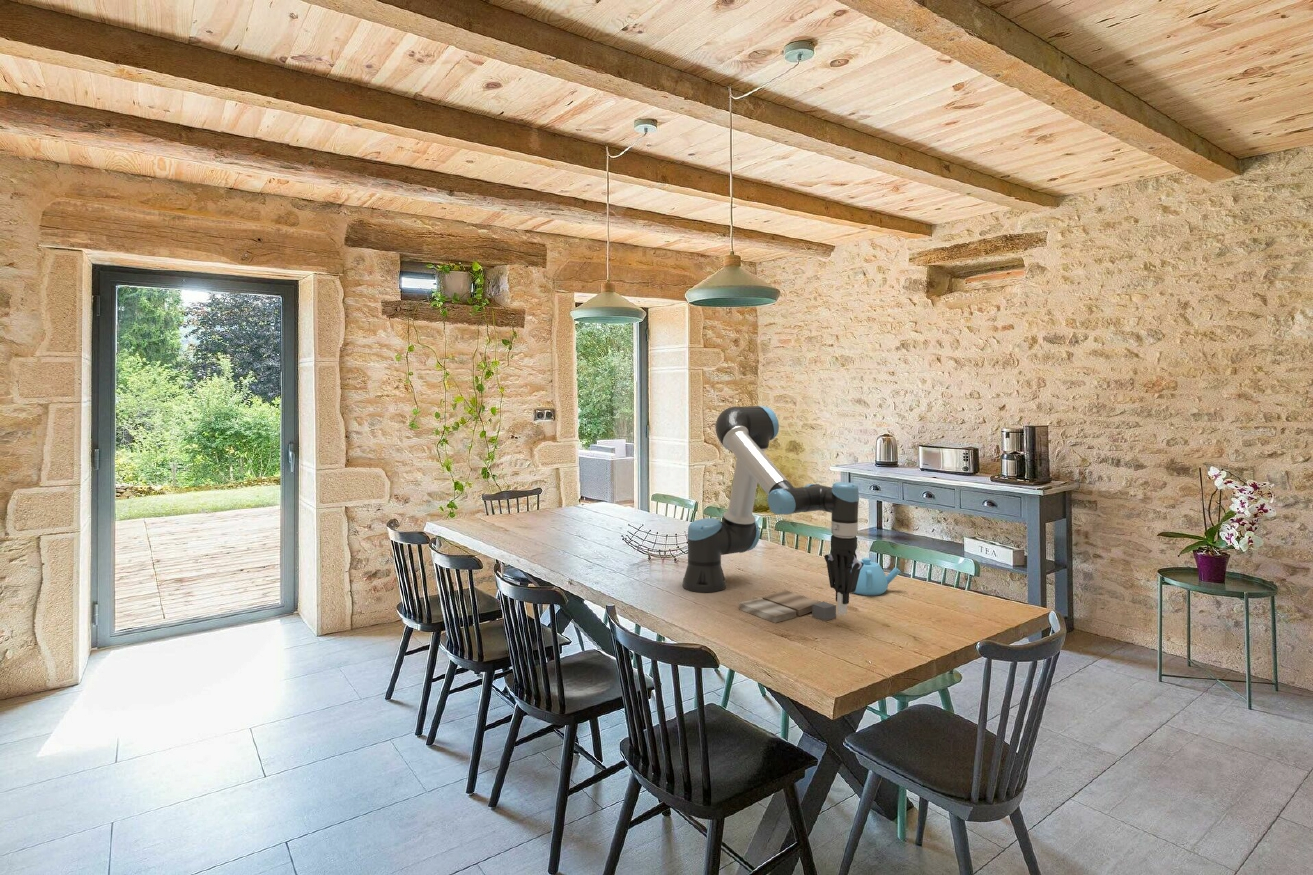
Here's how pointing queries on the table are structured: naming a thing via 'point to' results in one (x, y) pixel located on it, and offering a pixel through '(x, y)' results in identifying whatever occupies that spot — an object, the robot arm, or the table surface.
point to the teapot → (873, 578)
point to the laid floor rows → (767, 610)
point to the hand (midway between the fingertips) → (841, 613)
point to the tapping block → (824, 611)
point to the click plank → (792, 601)
